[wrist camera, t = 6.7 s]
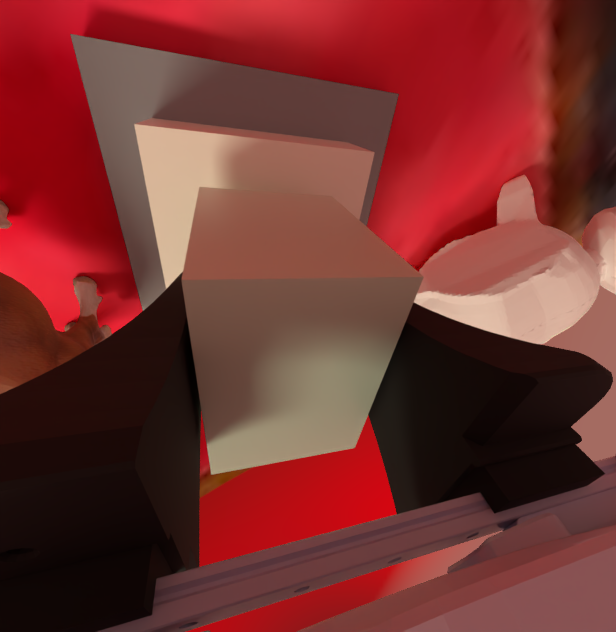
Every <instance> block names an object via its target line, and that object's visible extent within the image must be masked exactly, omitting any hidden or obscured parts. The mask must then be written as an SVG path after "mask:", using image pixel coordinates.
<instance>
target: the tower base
mask: <svg viewBox="0 0 616 632" xmlns="http://www.w3.org/2000/svg"><path fill="white" fill-rule="evenodd" d="M70 35H71V39H72V43H73V46H74V50H75V54H76V58H77V62H78V65H79V69H80V73H81V77H82V81H83V85H84V88H85V92H86V96H87V100H88V104H89V107H90V111H91V115H92V119H93V123H94V126H95V130H96V134H97V138H98V142H99V146H100V149H101V153H102V157H103V161H104V165H105V168H106V172H107V176H108V180H109V184H110V187H111V191H112V195H113V199H114V203H115V206H116V210H117V214H118V218H119V222H120V226H121V229H122V233H123V237H124V241H125V245H126V248H127V252H128V256H129V260H130V264H131V267H132V271H133V275H134V279H135V283H136V287H137V290H138V294H139V298H140V302H141V306H142V309H143V311H144V310H145V309H146V308H147V307H148V306H149V305H150V304H152V303H153V302H154V301H155V300H156V299H157V298H158V297H159V296H160V295H161V294H162V293H163V292H164V291H165V290H166V289H167V288H168V287H169V286H170V285H171V283H172V282H173V281H174V280H175V279H176V278H177V277H178V276H179V275H180V274H181V273H182V272H183V269H184V264H185V259H186V253H187V248H188V243H189V238H190V233H191V227H192V222H193V217H194V212H195V207H196V201H197V196H198V191H199V187H209V188H224V189H238V190H253V191H267V192H282V193H296V194H311V195H325V196H332V197H334V198H335V199H336V200H337V201H338V202H339V203H340V204H341V205H343V206H344V207H345V208H346V209H347V210H348V211H349V212H351V213H352V214H353V215H354V216H355V217H356V218H357V219H359V220H360V221H361V222H362V223H363V224H364V225H365V226H367V222H368V218H369V214H370V210H371V206H372V202H373V198H374V194H375V190H376V185H377V181H378V177H379V173H380V169H381V165H382V161H383V157H384V153H385V149H386V145H387V140H388V136H389V132H390V128H391V124H392V120H393V116H394V112H395V108H396V104H397V100H398V95H399V94H396V93H391V92H385V91H380V90H374V89H369V88H363V87H358V86H352V85H347V84H341V83H336V82H330V81H325V80H320V79H314V78H309V77H303V76H298V75H292V74H287V73H281V72H276V71H270V70H265V69H259V68H254V67H248V66H243V65H237V64H232V63H226V62H221V61H216V60H210V59H205V58H199V57H194V56H188V55H183V54H177V53H172V52H166V51H161V50H155V49H150V48H144V47H139V46H133V45H128V44H122V43H117V42H112V41H106V40H101V39H95V38H90V37H84V36H79V35H73V34H70Z"/></svg>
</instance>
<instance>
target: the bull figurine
mask: <svg viewBox="0 0 616 632" xmlns="http://www.w3.org/2000/svg"><path fill="white" fill-rule="evenodd" d="M8 212H9V209H8V207H7V206H6V204H5V203H4V202H3V201H1V200H0V228H9V227H10V226H11V225H12V223H11V222H10V221H8V220H7V214H8ZM73 285H74V292H75V294H76V296H77V299H78V301H79V304H80V316H79V319H78V321H77V323H76V322H71V323H69V324H68V325H66V326H65V328H64V329H65V332H60V331H57V330H55V328H54V326H53V323H52V320H51V318H50V316H49V314H48V312H47V310H46V309H45V307H44V306H43V304H42V303H41V301H40V300H39V299H38V298H37V297H36V296H35V295H34V294H33V293H32V292H31V291H30V290H29V289H28V288H26V287H25V286H24V285H22V284H21V283H19V282H17V281H16V280H14V279H13V278H11V277H9V276H7V275H5V274H3V273H1V272H0V394H1V393H4V392H6V391H8V390H10V389H13V388H15V387H17V386H19V385H21V384H23V383H25V382H27V381H29V380H32V379H34V378H36V377H38V376H40V375H42V374H44V373H46V372H48V371H50V370H52V369H54V368H56V367H58V366H60V365H61V364H63V363H65V362H67V361H69V360H71V359H72V358H74V357H76V356H77V355H79V354H81V353H83V352H84V351H86V350H88V349H89V348H91V347H93V346H95V345H96V344H98V343H100V342H101V341H103V340H105V339H106V338H108V337H109V336H111V335H112V333H111V329H110V327H109V326H108V325H103V326H102V327H101V328H99V325H98V321H97V308H98V305H99V303H100V302H101V301H102V297H101V296H98V295H97V294H96V288H97V284H96V282H95V281H94V280H93V279H91V278H89V277H85V276H80V277H76V278H74V279H73Z"/></svg>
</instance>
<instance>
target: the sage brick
mask: <svg viewBox="0 0 616 632" xmlns="http://www.w3.org/2000/svg"><path fill="white" fill-rule="evenodd" d="M423 278H424V277H423V276H422V275H421V274H420V273H419V272H418V271H417V270H416V269H414V268H413V267H412V266H411V265H410V264H409V263H408V262H406V261H405V260H404V259H403V258H402V257H401V256H400V255H398V254H397V253H396V252H395V251H394V250H393V249H392V248H390V247H389V246H388V245H387V244H386V243H385V242H384V241H382V240H381V239H380V238H379V237H378V236H377V235H376V234H375V233H373V232H372V231H371V230H370V229H369V228H368V227H367V226H365V225H364V224H363V223H362V222H361V221H360V220H359V219H357V218H356V217H355V216H354V215H353V214H352V213H351V212H349V211H348V210H347V209H346V208H345V207H344V206H343V205H341V204H340V203H339V202H338V201H337V200H336V199H335V198H334V197H332V196H325V195H311V194H296V193H282V192H267V191H253V190H238V189H224V188H209V187H199V191H198V196H197V201H196V207H195V212H194V217H193V222H192V227H191V233H190V238H189V243H188V248H187V253H186V259H185V264H184V269H183V274H182V279H181V281H182V287H183V294H184V300H185V307H186V313H187V320H188V326H189V333H190V339H191V346H192V352H193V359H194V365H195V372H196V378H197V385H198V391H199V398H200V404H201V411H202V417H203V424H204V430H205V437H206V443H207V450H208V456H209V463H210V469H211V475H212V474H218V473H223V472H228V471H234V470H239V469H244V468H250V467H255V466H260V465H266V464H271V463H276V462H281V461H286V460H292V459H298V458H303V457H308V456H314V455H319V454H324V453H329V452H335V451H340V450H345V449H351V448H355V445H356V443H357V441H358V438H359V435H360V433H361V431H362V428H363V426H364V423H365V421H366V418H367V416H368V413H369V411H370V409H371V406H372V404H373V401H374V399H375V396H376V394H377V391H378V389H379V386H380V384H381V381H382V379H383V376H384V374H385V372H386V369H387V367H388V364H389V362H390V359H391V357H392V354H393V352H394V349H395V347H396V344H397V342H398V339H399V337H400V335H401V332H402V330H403V327H404V325H405V322H406V320H407V317H408V315H409V312H410V310H411V307H412V305H413V302H414V300H415V298H416V295H417V293H418V290H419V288H420V285H421V283H422V280H423Z"/></svg>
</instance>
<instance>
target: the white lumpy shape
mask: <svg viewBox="0 0 616 632" xmlns="http://www.w3.org/2000/svg"><path fill="white" fill-rule="evenodd" d="M499 195H500V197H499V198H498V201H497V226H495V227H493V228H490V229H487V230H484V231H480V232H478V233H476V234H474V235H470V236H466V237H464V238H462V239H458V240H453V241H452V242H451V243H447V245H446V246H445V247H444V248H441V249H440V250H439V251H438V252H437V253H435V254H433V256H432V257H430V258H429V259H428V261H427V262H426V263H425V264H424V265H423V267H422V268H420V270H419V273H420V274H421V275H422V276H423V277H424V278H423V280H422V283H421V285H420V288H419V290H418V293H417V295H416V298H415V300H414V303H416V304H418V305H420V306H422V307H424V308H427V309H429V310H431V311H433V312H436V313H438V314H441V315H443V316H446V317H448V318H451V319H453V320H456V321H459V322H461V323H464V324H467V325H470V326H473V327H476V328H479V329H482V330H485V331H489V332H492V333H496V334H499V335H503V336H507V337H511V338H514V339H518V340H522V341H526V342H530V343H535V344H544V343H546V342H548V340H550V339H551V338H552V337H554V336H555V335H557V334H559V333H561V332H563V331H565V330H567V329H568V328H570V327H572V326H573V325H574V324H575V323H576V322H577V321H578V320H579V319H580V318H581V317H582V316H583V315H584V314H585V313H586V312H587V311H588V310H589V309H590V308H591V306H592V304H593V303H594V301H595V300H596V298H597V295H598V290H599V285H601V286H602V287H603V288H605V289H607V290H609V291H610V292H612V293H614V294H616V207H613V208H609V209H604V210H602V211H601V212H599V213H597V214H595V215H594V216H593V218H592V219H591V221H590V222H589V224H588V225H587V226H586V228H585V230H584V233H583V236H582V243H583V247H582V246H581V245H580V244H579V243H578V242H577V241H576V240H575V239H574V238H572V237H571V236H570V235H568V234H567V233H565V232H563V231H561V230H559V229H556V228H554V227H551V226H547V225H543V224H541V223H540V222H539V220H538V218H537V214H536V209H535V202H534V195H533V190H532V187H531V184H530V182H529V180H528V178H527V177H526V176H525V175H521V176H518V177H516V178H514V179H512V180H510V181H508V182H506V183H505V184H503V187H502V188H501V191H500V194H499Z"/></svg>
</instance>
